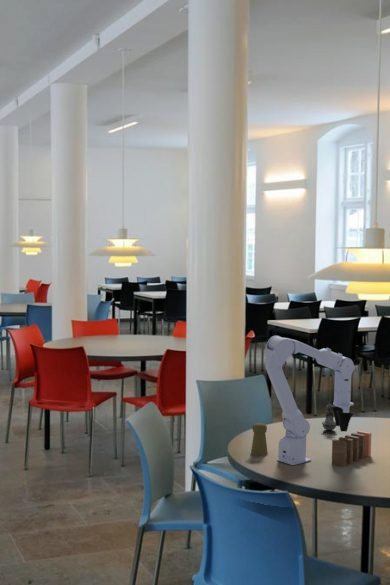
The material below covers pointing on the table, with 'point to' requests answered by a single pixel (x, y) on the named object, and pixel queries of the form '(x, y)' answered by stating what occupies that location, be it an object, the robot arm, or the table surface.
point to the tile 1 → (339, 452)
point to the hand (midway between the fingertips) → (341, 428)
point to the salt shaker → (329, 421)
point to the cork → (259, 440)
